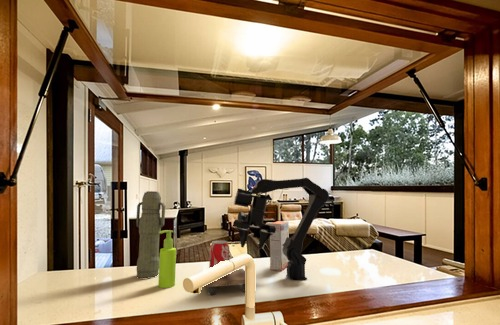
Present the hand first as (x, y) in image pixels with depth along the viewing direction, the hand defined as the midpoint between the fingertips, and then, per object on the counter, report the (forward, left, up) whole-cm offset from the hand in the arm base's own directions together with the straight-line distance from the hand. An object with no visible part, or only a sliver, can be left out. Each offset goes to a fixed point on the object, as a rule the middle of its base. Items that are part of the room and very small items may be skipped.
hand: (251, 248), depth 109 cm
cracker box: (-19, -16, -13) cm, 28 cm away
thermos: (+40, -18, -13) cm, 45 cm away
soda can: (+14, +8, -8) cm, 18 cm away
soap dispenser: (+33, -2, -13) cm, 35 cm away
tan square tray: (+12, +7, -12) cm, 18 cm away
